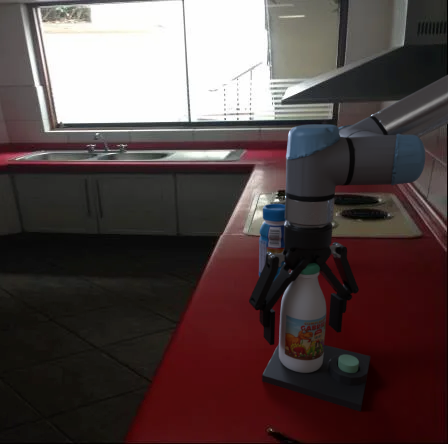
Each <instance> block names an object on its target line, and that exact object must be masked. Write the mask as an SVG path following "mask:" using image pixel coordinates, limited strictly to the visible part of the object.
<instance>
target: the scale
mask: <svg viewBox="0 0 448 444" xmlns="http://www.w3.org/2000/svg"><path fill="white" fill-rule="evenodd" d="M341 355H351V356H354V357H355V358H357V359H358V361H359V367H358V371H357V372H356V373H348V372H344V371H342V370H341V369H339V367H338V361H339V357H340V356H341ZM371 357H372V356H371V355H367V354H363V353H359V352H355V351H350V350H346V349H343V348H338V347H334V346H330V345H327V344H324V354H323V363H322V365H321V367H320V368H319V369H318V370H316V371H314V372H309V373H302V372H296V371H293V370H291V369H288V368H287V367H285V366H284V365H283V364H282V362H281V361H280V359H279V343H278V345H277V346H276V348H275V350H274V352H273V354H272V355H271V358H270V360H269V361H268V363H267V365H266V367H265V369H264V371H263V373H262V374H261V382H263V383H266V384H269V385H273V386H276V387H280V388H282V389H286V390H289V391H292V392H295V393H298V394H302V395H305V396H307V397H312V398H314V399H317V400H322V401H324V402H328V403H330V404H334V405H338V406H340V407H344V408H346V409H347V408H348V409H350V410H354V411H357V412H362V408H363V402H364V397H365V392H366V385H367V380H368V374H369V369H370V363H371Z"/></svg>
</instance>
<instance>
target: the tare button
mask: <svg viewBox="0 0 448 444" xmlns="http://www.w3.org/2000/svg"><path fill="white" fill-rule="evenodd" d="M338 367H339V369H341V370H342V371H344V372H348V373H356V372H357V371H358V367H359V361H358V359H357V358H355V357H354V356H351V355H341V356H340V357H339V361H338Z"/></svg>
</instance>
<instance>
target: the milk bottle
mask: <svg viewBox="0 0 448 444" xmlns="http://www.w3.org/2000/svg"><path fill="white" fill-rule="evenodd" d="M319 270H320V267H319V265H318V264H316V263H309V264H308V265H307V267H306V268H305V269H304V270H302V272H301V273H300V274H299V276H298V277H297V279H296V280H295V281H292V282H291V283H290V285H289V286H288V287H287V289H286V290H285V291H284V293H283V294H282V296H281V297H282V298H281V302H280V312H279V313H280V315H279V333H278V334H279V335H278V338H279V339H278V344H279V359H280V361H281V362H282V364H283V365H284V366H285V367H287V368H288V369H291V370H293V371H296V372H302V373H309V372H314V371H316V370H318V369H319V368H320V367H321V365H322V363H323V354H324V345H325V341H326V340H325V339H326V324H327V303H326V302H327V301H326V298H325V296H324V293H323V290H322V288H321V285H320V283H319V275H321V273H320V272H319ZM291 272H292V271H291V270H290V273H291ZM303 274H304V275H303Z"/></svg>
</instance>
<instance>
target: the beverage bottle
mask: <svg viewBox="0 0 448 444" xmlns="http://www.w3.org/2000/svg"><path fill="white" fill-rule="evenodd" d="M262 220H263V223H262V224H261V226H260V228H259V231H258V232H259V235H260V236H259V238H258V247H259V248H258V249H259V250H258V252H259V253H258V278H259V277H260V274H261V272H262V270H263V268H264V265H265V259H266V253H267V252H272V253H273V254H279V253H282V252H283V250H284V248H285V245H284V223H285V222H286V221H287V220H286V219H285V204H284V203H269V204H265V205H264V206H263V207H262ZM284 263H285V262H284V261H283V262H282V263H281V267H282V266H283V265H284ZM281 267H278V271H277V274H276V276H275V279H276V277H277V276H278V274H279V273H280V269H281ZM288 272H289V273H291V270H290V269H289V271H288ZM275 279H274V280H275Z"/></svg>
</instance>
